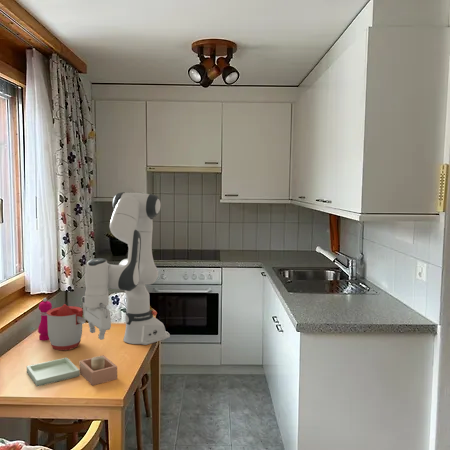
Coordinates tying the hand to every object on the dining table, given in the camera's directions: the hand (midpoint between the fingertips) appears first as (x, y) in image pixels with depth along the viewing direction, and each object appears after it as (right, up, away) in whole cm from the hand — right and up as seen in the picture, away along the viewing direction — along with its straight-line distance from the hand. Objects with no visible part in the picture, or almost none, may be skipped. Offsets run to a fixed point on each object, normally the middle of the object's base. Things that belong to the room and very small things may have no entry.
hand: (96, 335), depth 177 cm
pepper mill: (-37, -12, +44) cm, 59 cm away
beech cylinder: (0, -16, +2) cm, 16 cm away
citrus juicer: (-23, -13, +33) cm, 43 cm away
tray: (-18, -16, +3) cm, 25 cm away
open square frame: (0, -16, +2) cm, 16 cm away
